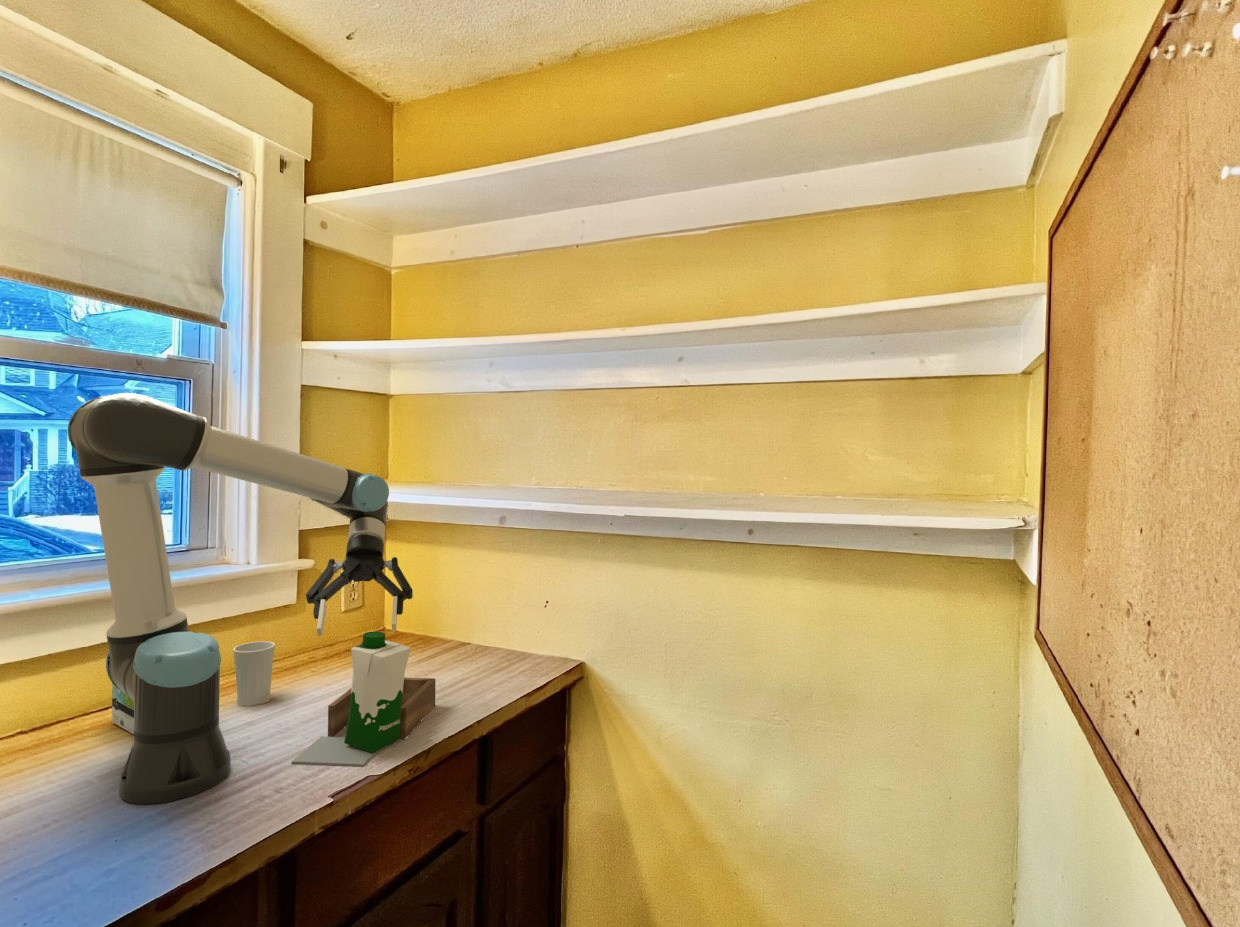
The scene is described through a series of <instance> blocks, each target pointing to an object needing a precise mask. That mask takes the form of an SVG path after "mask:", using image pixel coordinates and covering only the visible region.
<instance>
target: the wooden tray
mask: <svg viewBox="0 0 1240 927" xmlns="http://www.w3.org/2000/svg"><path fill="white" fill-rule="evenodd" d="M351 689H352V687H351V688H349V689H348V690H347V691H346V692H344V693H343V694H341V696H339V697H338V698H336V699H335V700H334V701H332V702H331V703H330V704H328V705H327V708H328V709H327V737H336V735H338V734H339V733H340V732H341V731H342V730H343V729H344V728H345V727H346V728H347V723H348V718H349V709H350V699H351ZM434 706H436V678H427V677H405V676H404V684H403V693H402V703H401V713H400V740H405V739H404V738H406V737H407V736H408V735H409V734H410V733H411V732H412V731H413V732H414V730H415V729H416V728H417V727H418V726H419V725H420V724H421V723H422V721H423V720H424V719H425V718H426V717H427V716H428V715H429V713H431V711H432V710H433V709H434V708H435V707H434ZM433 707H434V708H433ZM431 709H432V710H431ZM430 710H431V711H430ZM427 714H428V715H427ZM426 715H427V716H426ZM425 716H426V717H425ZM424 717H425V718H424ZM423 718H424V719H423ZM422 719H423V720H422ZM421 720H422V721H421ZM419 723H420V724H419ZM418 724H419V725H418ZM417 725H418V726H417ZM416 726H417V727H416ZM415 727H416V728H415ZM414 728H415V729H414ZM413 729H414V730H413ZM413 732H412V733H413ZM337 733H338V734H337ZM412 733H411V734H412ZM411 734H410V735H411ZM410 735H409V736H410ZM409 736H408V737H409ZM408 737H407V738H408ZM407 738H406V739H407Z"/></svg>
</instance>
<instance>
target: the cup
mask: <svg viewBox="0 0 1240 927" xmlns="http://www.w3.org/2000/svg"><path fill="white" fill-rule="evenodd" d="M275 645H276V643H275V642H272V641H268V640H267V641H266V640H265V641H251V642H246V643H242V644H239V645H236V646H234V647H233V650H232V651H233V659H234V669H235V671H234V672H235V684H236V696H237V697H236V705H238V706H241V707H251V706H252V705H253V706H257V705H263V704H265V703H267V702H269V701H270V699H271V689H272V688H271V687H272V675H273V665H274V664H273V663H274V656H275V655H274V654H275V648H276V646H275ZM266 701H267V702H266ZM253 706H252V707H253Z"/></svg>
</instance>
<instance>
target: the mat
mask: <svg viewBox="0 0 1240 927" xmlns="http://www.w3.org/2000/svg"><path fill="white" fill-rule="evenodd" d="M344 741H345V737H339V736H334V737H329V736H320V737H319V738H317V739H316V740H315V741H314V742H312V744H311V745H309V746H308V747H307V748H306V749H304V750H303V751H301V753H299V755H297V756H296V757H295V758H294V759H293V760H291V762H290V763H291V764H292V765H293V764H294V765H313V766H315V765H319V766H340V767H342V766H343V767H361V766H363V767H364V766H365V765H366V764H367V763H368V762H369V761H370V760H371V759H372V758H373V757H374V756H375V755H374V754H375V753H376V752H375V753H370V752H367V751H364V750H362V749H359V748H356V747H354V746H351V745H348V744H345V743H344ZM376 754H377V753H376ZM373 755H374V756H373ZM372 756H373V757H372ZM371 757H372V758H371ZM370 758H371V759H370Z"/></svg>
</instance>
